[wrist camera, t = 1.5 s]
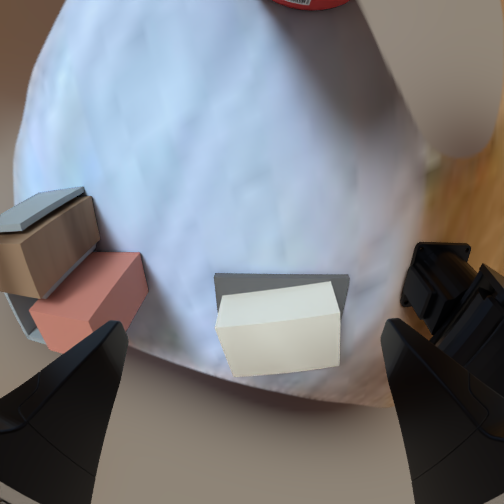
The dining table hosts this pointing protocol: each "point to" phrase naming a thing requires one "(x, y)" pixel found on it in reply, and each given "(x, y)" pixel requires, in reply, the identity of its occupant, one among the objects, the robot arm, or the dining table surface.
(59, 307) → the salmon pink block
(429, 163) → the dining table surface
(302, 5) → the canned food
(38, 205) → the socket block
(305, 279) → the rubber mat
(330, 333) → the cream rectangular block
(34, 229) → the walnut plug
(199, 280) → the dining table surface
